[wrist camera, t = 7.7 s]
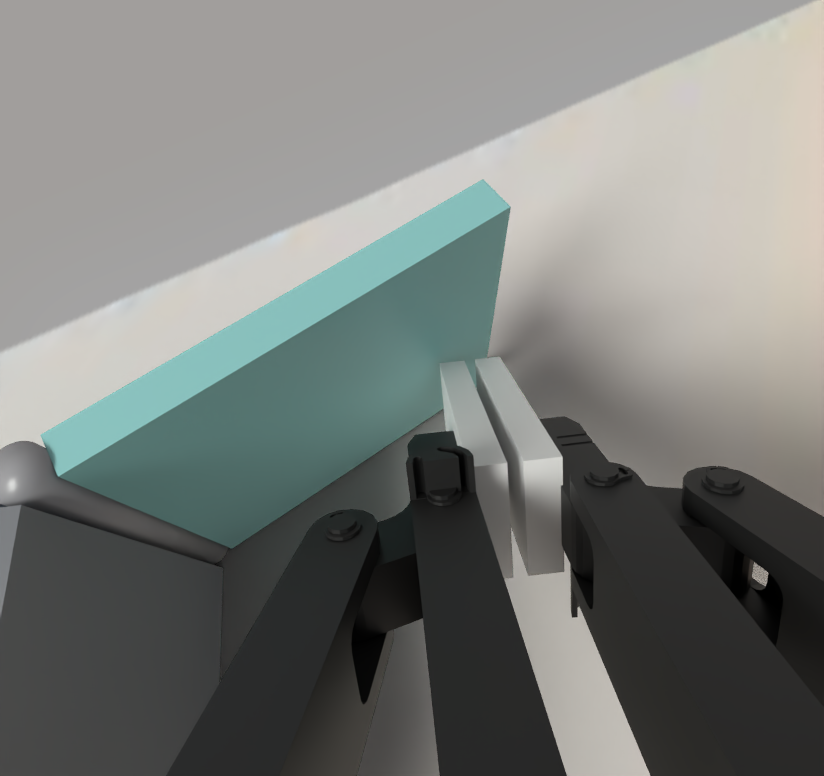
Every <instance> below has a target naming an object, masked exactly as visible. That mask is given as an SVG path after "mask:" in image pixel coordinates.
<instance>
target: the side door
mask: <svg viewBox="0 0 824 776" xmlns="http://www.w3.org/2000/svg"><path fill="white" fill-rule="evenodd" d="M510 208H511V207H510V206H509V205H508V204H507V203H506V202H505V201H504V200H503V199H502V198H501V197H500V196H499V195H498V194H497V193H496V192H495V191H494V190H493V189H492V188H491V187H490V186H489V185H488V184H487V183H486V182H485V181H484V180H481V181H479V182H477V183H476V184H474V185H472V186H470V187H469V188H467V189H465V190H464V191H462V192H460V193H458V194H457V195H455V196H453V197H451V198H450V199H448V200H446V201H444V202H443V203H441V204H439V205H438V206H436V207H434V208H432V209H431V210H429V211H427V212H425V213H424V214H422V215H420V216H419V217H417V218H415V219H413V220H412V221H410V222H408V223H406V224H405V225H403V226H401V227H399V228H398V229H396V230H394V231H393V232H391V233H389V234H387V235H386V236H384V237H382V238H380V239H379V240H377V241H375V242H374V243H372V244H370V245H368V246H367V247H365V248H363V249H361V250H360V251H358V252H356V253H354V254H353V255H351V256H349V257H348V258H346V259H344V260H342V261H341V262H339V263H337V264H335V265H334V266H332V267H330V268H329V269H327V270H325V271H323V272H322V273H320V274H318V275H316V276H315V277H313V278H311V279H309V280H308V281H306V282H304V283H303V284H301V285H299V286H297V287H296V288H294V289H292V290H290V291H289V292H287V293H285V294H284V295H282V296H280V297H278V298H277V299H275V300H273V301H271V302H270V303H268V304H266V305H264V306H263V307H261V308H259V309H258V310H256V311H254V312H252V313H251V314H249V315H247V316H245V317H244V318H242V319H240V320H239V321H237V322H235V323H233V324H232V325H230V326H228V327H226V328H225V329H223V330H221V331H219V332H218V333H216V334H214V335H213V336H211V337H209V338H207V339H206V340H204V341H202V342H200V343H199V344H197V345H195V346H194V347H192V348H190V349H188V350H187V351H185V352H183V353H181V354H180V355H178V356H176V357H174V358H173V359H171V360H169V361H168V362H166V363H164V364H162V365H161V366H159V367H157V368H155V369H154V370H152V371H150V372H149V373H147V374H145V375H143V376H142V377H140V378H138V379H136V380H135V381H133V382H131V383H129V384H128V385H126V386H124V387H123V388H121V389H119V390H117V391H116V392H114V393H112V394H110V395H109V396H107V397H105V398H104V399H102V400H100V401H98V402H97V403H95V404H93V405H91V406H90V407H88V408H86V409H84V410H83V411H81V412H79V413H78V414H76V415H74V416H72V417H71V418H69V419H67V420H65V421H64V422H62V423H60V424H59V425H57V426H55V427H53V428H52V429H50V430H48V431H46V432H45V433H43V434H41V437H42V440H43V442H44V445H45V447H46V448H44V447H42V446H40V445H38V444H36V443H33V442H30V441H19V442H15V443H12V444H9V445H7V446H5V447H4V448H2V449H1V450H0V504H2V505H5V506H17V505H23V506H26V507H29V508H32V509H35V510H39V511H42V512H45V513H48V514H52V515H55V516H58V517H61V518H64V519H68V520H71V521H74V522H77V523H80V524H84V525H87V526H90V527H93V528H97V529H100V530H103V531H106V532H109V533H113V534H116V535H119V536H122V537H126V538H129V539H132V540H135V541H138V542H142V543H145V544H148V545H151V546H154V547H158V548H161V549H164V550H167V551H171V552H174V553H177V554H180V555H183V556H187V557H190V558H193V559H196V560H200V561H203V562H206V563H209V564H212V565H214V564H216V563H218V562H219V561H221V560H222V559H223V558H224V556H225V555H226V553H227V550H228V547H229V548H231V549H232V548H234V547H235V546H237V545H238V544H240V543H241V542H243V541H244V540H246V539H247V538H249V537H250V536H252V535H253V534H255V533H256V532H258V531H260V530H261V529H263V528H264V527H266V526H267V525H269V524H270V523H272V522H273V521H275V520H276V519H278V518H279V517H281V516H282V515H284V514H285V513H287V512H288V511H290V510H291V509H293V508H294V507H296V506H297V505H299V504H300V503H302V502H303V501H305V500H306V499H308V498H309V497H311V496H312V495H314V494H315V493H317V492H318V491H320V490H321V489H323V488H324V487H326V486H327V485H329V484H330V483H332V482H333V481H335V480H336V479H338V478H339V477H341V476H342V475H344V474H345V473H347V472H348V471H350V470H351V469H353V468H354V467H356V466H358V465H359V464H361V463H362V462H364V461H365V460H367V459H368V458H370V457H371V456H373V455H374V454H376V453H377V452H379V451H380V450H382V449H383V448H385V447H386V446H388V445H389V444H391V443H392V442H394V441H395V440H397V439H398V438H400V437H401V436H403V435H404V434H406V433H407V432H409V431H410V430H412V429H413V428H415V427H416V426H418V425H419V424H421V423H422V422H424V421H425V420H427V419H428V418H430V417H431V416H433V415H434V414H436V413H437V412H439V411H440V410H442V409H443V408H444V407H443V396H442V386H441V375H440V364H439V363H446V362H455V361H463V360H464V361H465V363H466V366H467V368H468V371H469V373H470V375H471V378H472V380H473V382H474V385H475V387H477V383H476V369H475V359H481V358H487V354H488V348H489V341H490V335H491V328H492V322H493V316H494V309H495V303H496V297H497V290H498V284H499V278H500V271H501V265H502V258H503V252H504V246H505V239H506V233H507V227H508V220H509V214H510Z"/></svg>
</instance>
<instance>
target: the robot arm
mask: <svg viewBox="0 0 824 776" xmlns="http://www.w3.org/2000/svg"><path fill="white" fill-rule="evenodd" d="M439 364H440V375H441V386H442V396H443V407H444V418H445V428H446V431H445V432H437V433H428V434H419V435H415V436H414V437H413V438H412V440H411V441H410V442H409V444H408V455H409V457H408V459H407V462H406V467H407V475H408V484H409V492H410V500H411V502H410V503H409V505H408V507H407V508H405V509H404V510H403V511H402V512H401V513H399V514H398V515H396V516H394V517H392V518H389V519H387V520H384V521H381V522H378V523H377V521H376V519H375V518H374V516H373V515H371V514H369V513H367V512H365V511H362V510H354V509H350V510H340V511H336V512H333V513H330V514H327V515H325V516H324V517H322V518H320V519H319V520H317V521H316V522H315V523H314V524H313V525H312V526H311V528H310V529H309V530H308V532H307V534H306V536H305V537H304V539H303V541H302V543H301V544H300V546H299V548H298V549H297V551H296V553H295V555H294V556H293V558H292V560H291V561H290V563H289V565H288V567H287V568H286V570H285V572H284V573H283V575H282V577H281V579H280V580H279V582H278V584H277V586H276V587H275V589H274V591H273V592H272V594H271V596H270V598H269V599H268V601H267V603H266V604H265V606H264V608H263V610H262V611H261V613H260V615H259V616H258V618H257V620H256V622H255V623H254V625H253V627H252V628H251V630H250V632H249V634H248V635H247V637H246V639H245V641H244V642H243V644H242V646H241V647H240V649H239V651H238V653H237V654H236V656H235V658H234V659H233V661H232V663H231V665H230V666H229V668H228V670H227V671H226V673H225V675H224V677H223V678H222V680H221V682H220V684H219V685H218V687H217V689H216V690H215V692H214V694H213V696H212V697H211V699H210V701H209V702H208V704H207V706H206V708H205V709H204V711H203V713H202V714H201V716H200V718H199V720H198V721H197V723H196V725H195V727H194V728H193V730H192V732H191V733H190V735H189V737H188V739H187V740H186V742H185V744H184V745H183V747H182V749H181V751H180V752H179V754H178V756H177V757H176V759H175V761H174V763H173V764H172V766H171V768H170V769H169V771H168V773H167V775H166V776H357V773H358V769H359V766H360V762H361V758H362V755H363V751H364V747H365V743H366V740H367V736H368V732H369V729H370V725H371V721H372V718H373V714H374V710H375V706H376V703H377V699H378V695H379V692H380V688H381V684H382V680H383V677H384V673H385V669H386V666H387V662H388V658H389V654H390V651H391V647H392V643H393V637H394V629H396V628H398V627H401V626H403V625H406V624H409V623H411V622H414V621H416V620H419V619H421V618H423V622H424V631H425V641H426V650H427V659H428V669H429V678H430V688H431V697H432V706H433V716H434V725H435V735H436V744H437V753H438V763H439V772H440V776H567V775H566V772H565V769H564V766H563V762H562V759H561V756H560V753H559V750H558V747H557V744H556V741H555V737H554V734H553V731H552V728H551V725H550V722H549V719H548V715H547V712H546V709H545V706H544V703H543V700H542V697H541V694H540V690H539V687H538V684H537V681H536V678H535V675H534V672H533V669H532V665H531V662H530V659H529V656H528V653H527V650H526V647H525V643H524V640H523V637H522V634H521V631H520V628H519V625H518V622H517V618H516V615H515V612H514V609H513V606H512V603H511V600H510V596H509V593H508V590H507V587H506V584H505V581H504V578H512V577H513V563H512V544H511V528H512V531H513V534H514V536H515V539H516V542H517V545H518V548H519V551H520V553H521V556H522V559H523V562H524V565H525V568H526V570H527V573H528V576H530V575H539V574H548V573H556V572H564V551H565V553H566V555H567V557H568V560H569V562H570V564H571V613H572V617H577V608H578V606H580V608H581V611H582V613H583V616H584V618H585V620H586V623H587V625H588V627H589V630H590V632H591V635H592V637H593V639H594V642H595V644H596V647H597V649H598V651H599V654H600V656H601V658H602V661H603V663H604V666H605V668H606V670H607V673H608V675H609V678H610V680H611V682H612V685H613V687H614V689H615V692H616V694H617V697H618V699H619V701H620V704H621V706H622V709H623V711H624V713H625V716H626V718H627V721H628V723H629V725H630V728H631V730H632V732H633V735H634V737H635V740H636V742H637V744H638V747H639V749H640V752H641V754H642V756H643V759H644V761H645V763H646V766H647V768H648V771H649V773H650V775H651V776H824V517H823V516H821V515H819V514H817V513H816V512H814V511H812V510H810V509H809V508H807V507H805V506H803V505H802V504H800V503H798V502H796V501H794V500H793V499H791V498H789V497H787V496H786V495H784V494H782V493H780V492H779V491H777V490H775V489H773V488H772V487H770V486H768V485H766V484H765V483H763V482H761V481H759V480H757V479H756V478H754V477H752V476H750V475H748V474H745V473H743V472H741V471H738V470H733V469H729V468H727V467H721V466H718V467H716V466H708V467H702V468H696V469H694V470H691V471H689V472H687V474H686V475H685V476H684V478H683V489H679V488H663V487H653V486H646V485H645V483H644V482H643V481H642V480H641V478H640V477H639V476H638V475H637V474H636V473H635V472H634V471H633V470H631V469H630V468H628V467H625V466H623V465H620V464H617V463H611V462H608V460H607V459H606V458H605V456H604V455H603V454H602V453H601V451H600V450H599V449H598V447H597V446H596V445H595V444H594V443H593V442H592V440H591V438H590V437H589V436H588V435H587V434H586V432H585V431H584V429H583V428H582V427H581V426H580V424H578V423H577V422H575V421H573V420H571V419H569V418H567V417H565V416H564V417H556V418H547V419H539V418H538V417H537V415H536V414H535V412H534V410H533V409H532V407H531V406H530V404H529V402H528V401H527V399H526V398H525V396H524V394H523V393H522V391H521V390H520V388H519V386H518V385H517V383H516V382H515V380H514V378H513V377H512V375H511V374H510V372H509V370H508V369H507V367H506V366H505V364H504V363H503V361H502V359H501V358H500V356H499V357H490V358H481V359H475V369H476V383H477V390H476V387H475V385H474V382H473V380H472V378H471V375H470V373H469V371H468V368H467V366H466V363H465V361H464V360H463V361H455V362H446V363H439ZM754 562H755V563H757V564H758V565H759V566H761V567H762V568H763V569H765V570H766V571H767V572H768V573H769V574H768V581H767V585H766V587H765V586H763V585H762V584H760V583H758V582H757V581H756V580H755V579H753V578H752V572H753V564H754Z"/></svg>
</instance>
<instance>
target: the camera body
mask: <svg viewBox="0 0 824 776" xmlns="http://www.w3.org/2000/svg"><path fill="white" fill-rule="evenodd" d="M222 593H223V568H222V567H219V566H216V565H212V564H209V563H206V562H203V561H200V560H196V559H193V558H190V557H187V556H183V555H180V554H177V553H174V552H171V551H167V550H164V549H161V548H158V547H154V546H151V545H148V544H145V543H142V542H138V541H135V540H132V539H129V538H126V537H122V536H119V535H116V534H113V533H109V532H106V531H103V530H100V529H97V528H93V527H90V526H87V525H84V524H80V523H77V522H74V521H71V520H68V519H64V518H61V517H58V516H55V515H52V514H48V513H45V512H42V511H39V510H35V509H32V508H29V507H26V506H23V505H17V506H5V505H2V504H0V776H166V775H167V773H168V771H169V769H170V768H171V766H172V764H173V763H174V761H175V759H176V757H177V756H178V754H179V752H180V751H181V749H182V747H183V745H184V744H185V742H186V740H187V739H188V737H189V735H190V733H191V732H192V730H193V728H194V727H195V725H196V723H197V721H198V720H199V718H200V716H201V714H202V713H203V711H204V709H205V708H206V706H207V704H208V702H209V701H210V699H211V697H212V696H213V694H214V692H215V690H216V689H217V687H218V685H219V684H220V654H221V623H222Z"/></svg>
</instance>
